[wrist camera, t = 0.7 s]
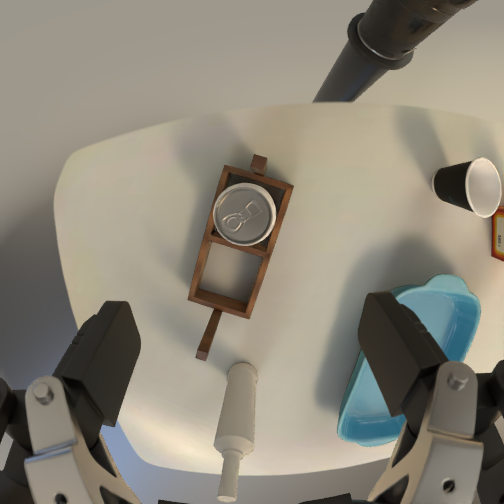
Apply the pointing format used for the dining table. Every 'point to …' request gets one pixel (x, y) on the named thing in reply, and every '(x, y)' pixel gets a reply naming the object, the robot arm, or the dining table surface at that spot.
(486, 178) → the dixie cup
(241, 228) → the can
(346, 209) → the dining table surface
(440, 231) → the dining table surface
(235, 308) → the frame
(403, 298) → the casserole dish
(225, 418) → the bottle
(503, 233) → the baking soda box
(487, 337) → the dining table surface
